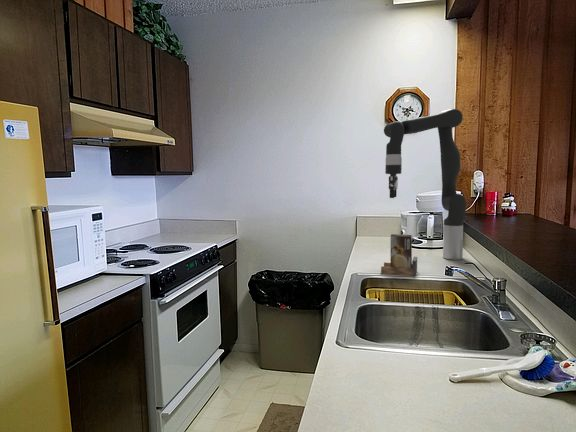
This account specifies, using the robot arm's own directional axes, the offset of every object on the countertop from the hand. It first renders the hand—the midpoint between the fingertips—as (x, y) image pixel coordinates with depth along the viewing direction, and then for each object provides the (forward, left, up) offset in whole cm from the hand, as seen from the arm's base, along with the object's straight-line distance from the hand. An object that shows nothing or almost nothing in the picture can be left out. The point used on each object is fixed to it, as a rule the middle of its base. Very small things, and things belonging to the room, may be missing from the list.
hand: (393, 197), depth 196 cm
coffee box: (-6, +20, -32) cm, 38 cm away
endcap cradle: (-5, +21, -32) cm, 38 cm away
